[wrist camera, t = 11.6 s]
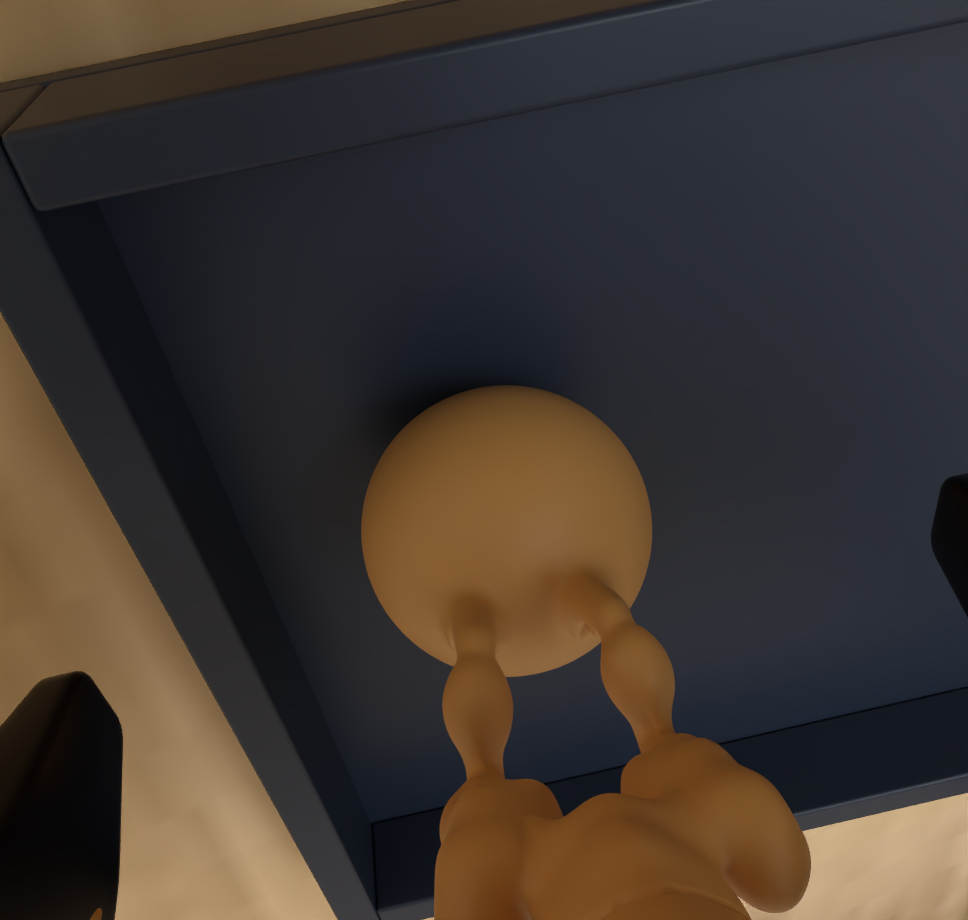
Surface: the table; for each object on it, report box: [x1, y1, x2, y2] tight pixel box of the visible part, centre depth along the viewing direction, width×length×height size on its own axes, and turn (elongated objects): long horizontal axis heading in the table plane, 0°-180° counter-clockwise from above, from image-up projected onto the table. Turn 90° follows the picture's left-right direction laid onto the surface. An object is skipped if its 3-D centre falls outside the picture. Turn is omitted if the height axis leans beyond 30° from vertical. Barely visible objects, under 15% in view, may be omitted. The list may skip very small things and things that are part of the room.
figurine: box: [90, 385, 811, 920], centre depth 8 cm, size 8×6×12 cm
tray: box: [0, 0, 968, 920], centre depth 15 cm, size 20×17×2 cm
